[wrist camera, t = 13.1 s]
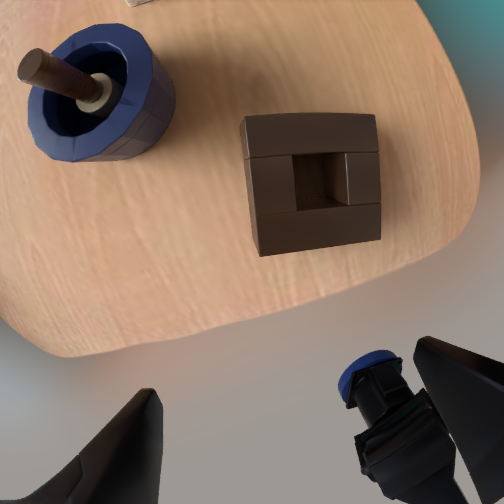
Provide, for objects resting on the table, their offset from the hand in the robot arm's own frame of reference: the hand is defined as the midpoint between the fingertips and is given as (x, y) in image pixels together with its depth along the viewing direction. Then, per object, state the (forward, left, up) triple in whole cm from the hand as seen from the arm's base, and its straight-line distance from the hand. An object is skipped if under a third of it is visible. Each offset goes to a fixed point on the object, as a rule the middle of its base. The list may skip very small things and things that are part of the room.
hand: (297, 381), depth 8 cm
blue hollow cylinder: (+12, +8, -13) cm, 19 cm away
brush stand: (+5, -4, -13) cm, 14 cm away
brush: (+12, +8, -12) cm, 19 cm away
